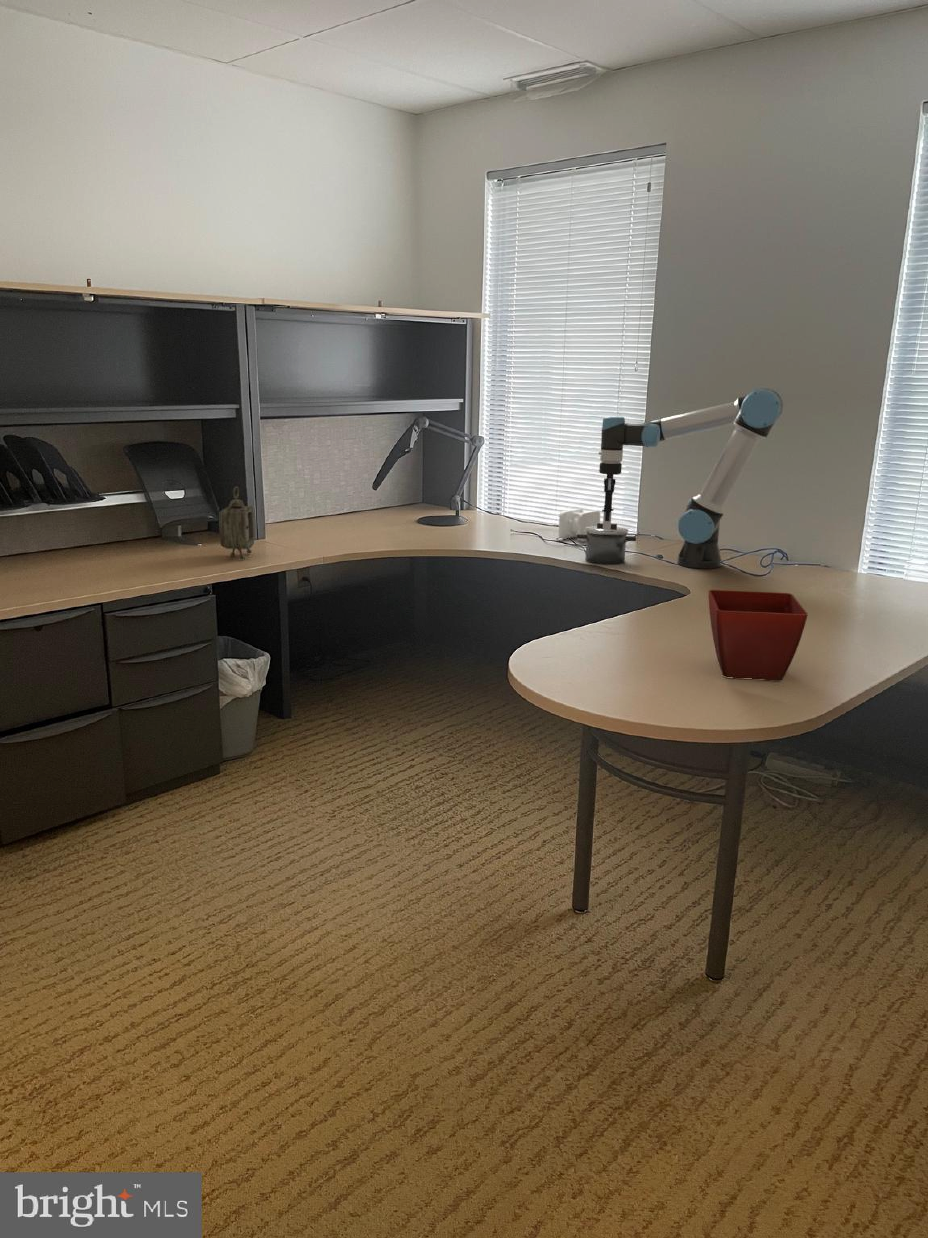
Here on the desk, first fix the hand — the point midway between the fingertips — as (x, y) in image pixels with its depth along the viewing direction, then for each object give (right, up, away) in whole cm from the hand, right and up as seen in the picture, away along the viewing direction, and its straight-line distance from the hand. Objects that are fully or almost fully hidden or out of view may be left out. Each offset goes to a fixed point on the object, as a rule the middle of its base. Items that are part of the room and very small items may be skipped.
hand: (606, 529), depth 317 cm
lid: (+1, 0, +5) cm, 5 cm away
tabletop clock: (-130, -10, +3) cm, 131 cm away
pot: (+1, -10, +7) cm, 13 cm away
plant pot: (+15, -44, -109) cm, 119 cm away
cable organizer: (-4, +1, +48) cm, 48 cm away
